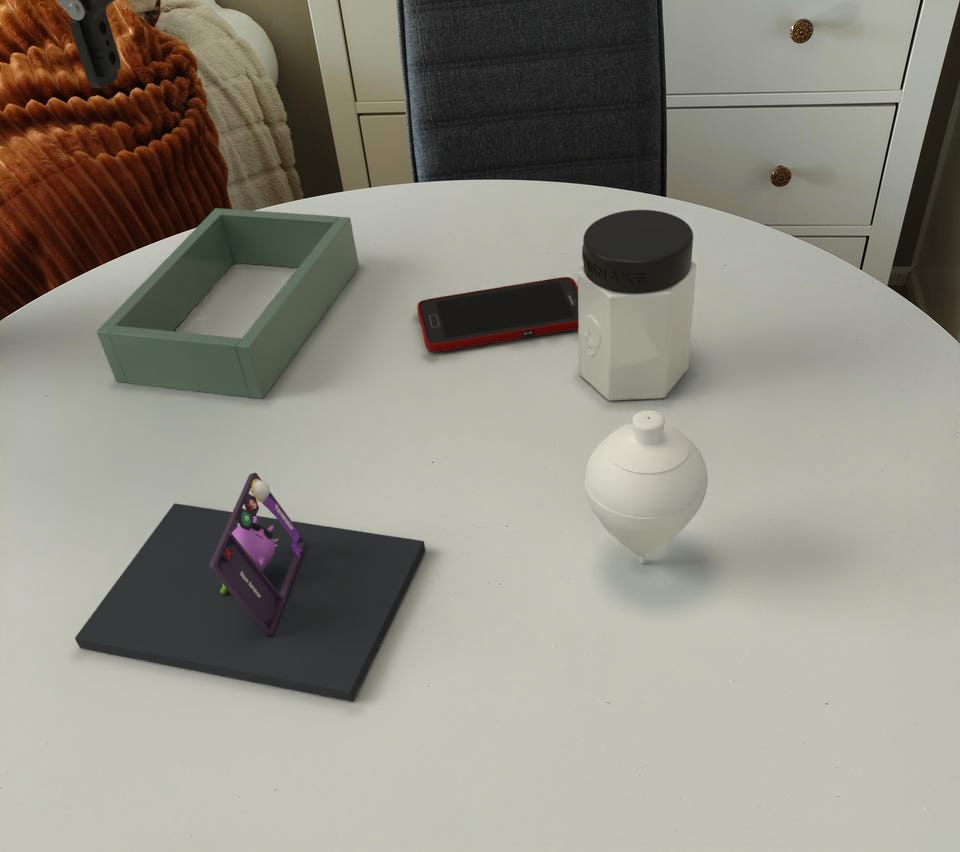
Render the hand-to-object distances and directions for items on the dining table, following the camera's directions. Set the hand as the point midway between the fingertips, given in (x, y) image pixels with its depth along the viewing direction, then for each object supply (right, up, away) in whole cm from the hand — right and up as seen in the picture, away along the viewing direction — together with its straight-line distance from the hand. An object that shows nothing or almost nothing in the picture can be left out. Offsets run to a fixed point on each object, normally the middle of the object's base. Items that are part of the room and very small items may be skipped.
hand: (45, 80), depth 63 cm
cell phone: (+29, -6, +29) cm, 41 cm away
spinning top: (+38, -29, +7) cm, 48 cm away
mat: (+11, -31, +8) cm, 34 cm away
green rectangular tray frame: (+5, -5, +33) cm, 33 cm away
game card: (+11, -31, +7) cm, 34 cm away
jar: (+39, -12, +22) cm, 47 cm away
